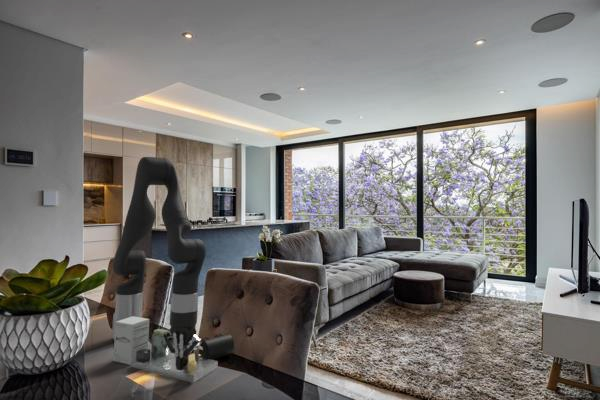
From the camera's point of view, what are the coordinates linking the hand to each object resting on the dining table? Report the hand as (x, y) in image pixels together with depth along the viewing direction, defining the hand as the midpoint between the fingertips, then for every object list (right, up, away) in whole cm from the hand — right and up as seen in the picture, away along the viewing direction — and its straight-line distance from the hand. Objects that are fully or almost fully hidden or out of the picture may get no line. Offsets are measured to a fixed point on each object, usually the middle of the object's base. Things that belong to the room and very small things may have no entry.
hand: (181, 369), depth 96 cm
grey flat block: (-5, -3, +8) cm, 10 cm away
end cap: (+6, -4, +16) cm, 17 cm away
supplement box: (-21, -4, +13) cm, 25 cm away
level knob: (+2, -1, +3) cm, 4 cm away
